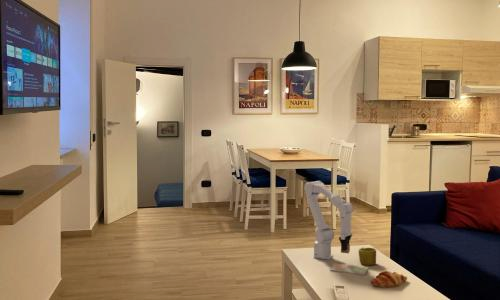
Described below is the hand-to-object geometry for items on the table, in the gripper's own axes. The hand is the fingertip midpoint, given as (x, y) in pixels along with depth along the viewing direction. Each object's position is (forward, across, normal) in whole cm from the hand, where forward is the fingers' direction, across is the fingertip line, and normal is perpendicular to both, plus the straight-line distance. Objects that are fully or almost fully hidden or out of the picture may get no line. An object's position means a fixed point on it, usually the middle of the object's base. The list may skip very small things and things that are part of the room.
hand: (345, 249), depth 255 cm
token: (+2, 0, 0) cm, 2 cm away
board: (+8, -8, -4) cm, 12 cm away
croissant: (+9, -20, -26) cm, 34 cm away
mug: (+9, +7, -10) cm, 15 cm away
